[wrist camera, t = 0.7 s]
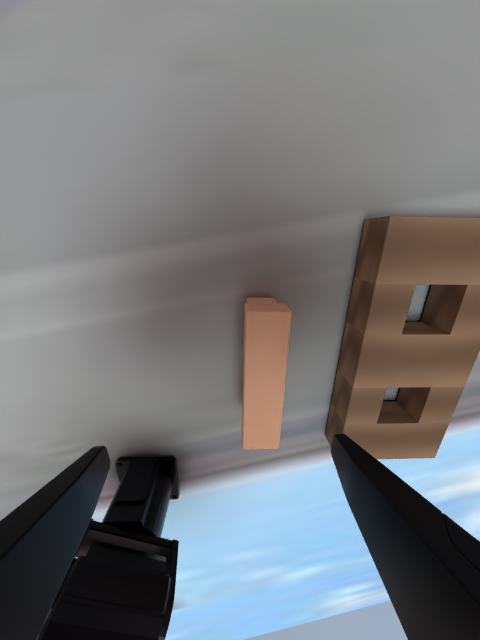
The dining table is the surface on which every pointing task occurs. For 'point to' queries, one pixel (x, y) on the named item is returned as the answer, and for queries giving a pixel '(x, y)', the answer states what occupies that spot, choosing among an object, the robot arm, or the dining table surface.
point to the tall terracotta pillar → (264, 371)
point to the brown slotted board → (408, 335)
